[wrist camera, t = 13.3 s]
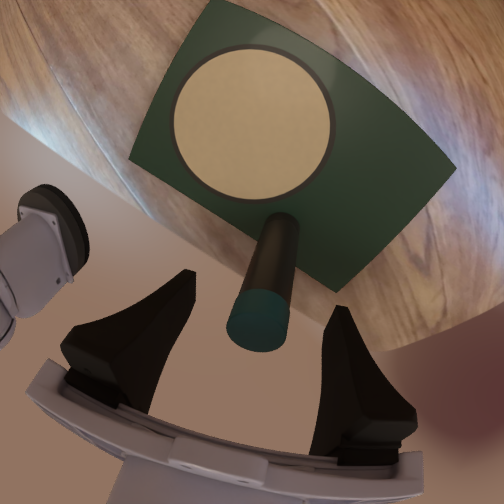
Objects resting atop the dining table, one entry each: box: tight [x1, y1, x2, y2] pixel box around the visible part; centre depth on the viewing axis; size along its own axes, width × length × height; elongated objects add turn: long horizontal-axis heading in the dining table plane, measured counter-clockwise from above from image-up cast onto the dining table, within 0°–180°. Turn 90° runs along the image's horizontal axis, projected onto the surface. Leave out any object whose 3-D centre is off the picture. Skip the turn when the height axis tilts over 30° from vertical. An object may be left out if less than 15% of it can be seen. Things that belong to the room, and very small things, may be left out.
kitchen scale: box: [129, 0, 457, 293], centre depth 17 cm, size 20×14×1 cm
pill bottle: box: [226, 212, 300, 352], centre depth 16 cm, size 3×3×10 cm
